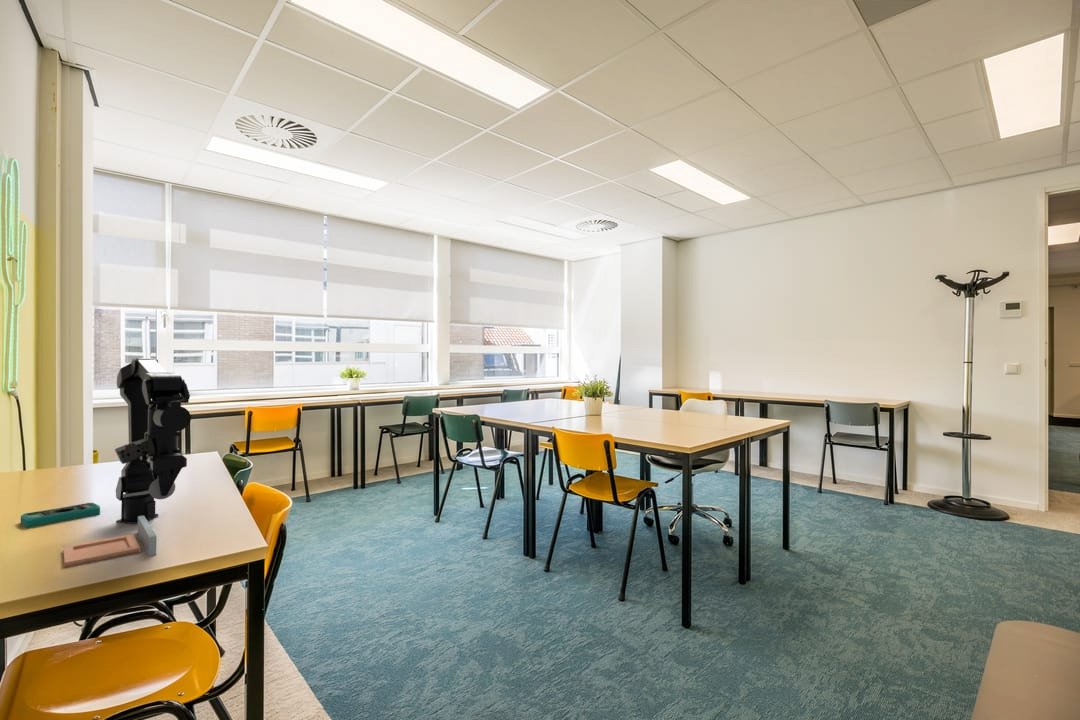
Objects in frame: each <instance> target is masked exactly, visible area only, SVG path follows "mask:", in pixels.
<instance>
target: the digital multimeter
mask: <svg viewBox="0 0 1080 720" xmlns="http://www.w3.org/2000/svg"><path fill="white" fill-rule="evenodd" d="M99 515H101V505H99V504H96V503H94V502H87V503H86V502H85V503H81V504H76V505H75V504H73V505H69V506H63V507H58V508H52V509H51V508H50V509H46V510H39V511H33V512H31V511H30V512H26V513H24V514H21V515H20V524H21V526H23V527H25V528H27V529H31V528H35V527H36V526H37V527H42V526H47V525H51V524H57V523H62V522H66V521H72V520H78V519H83V518H88V517H94V516H95V517H96V516H99ZM30 527H31V528H30Z"/></svg>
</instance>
